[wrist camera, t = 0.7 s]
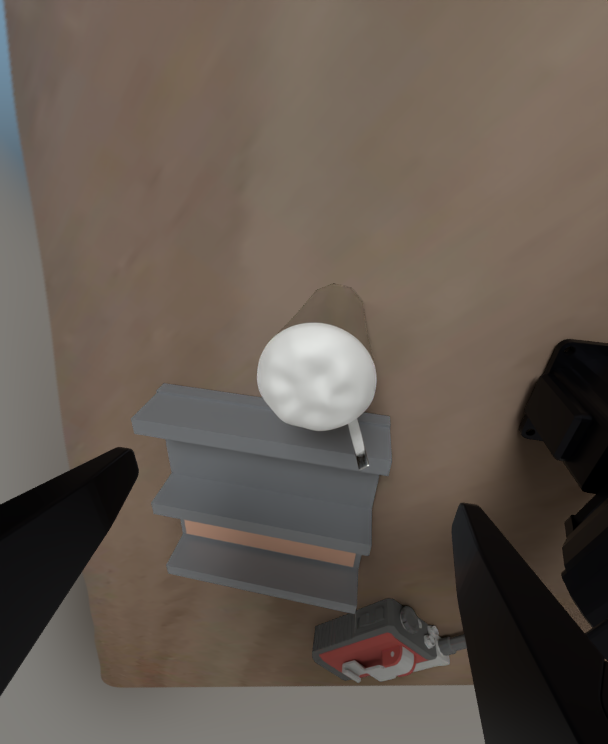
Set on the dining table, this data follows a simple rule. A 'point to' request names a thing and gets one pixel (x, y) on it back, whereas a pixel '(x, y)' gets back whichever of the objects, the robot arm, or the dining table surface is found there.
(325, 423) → the milkshake
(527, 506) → the dining table surface
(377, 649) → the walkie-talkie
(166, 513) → the grey slotted tray
